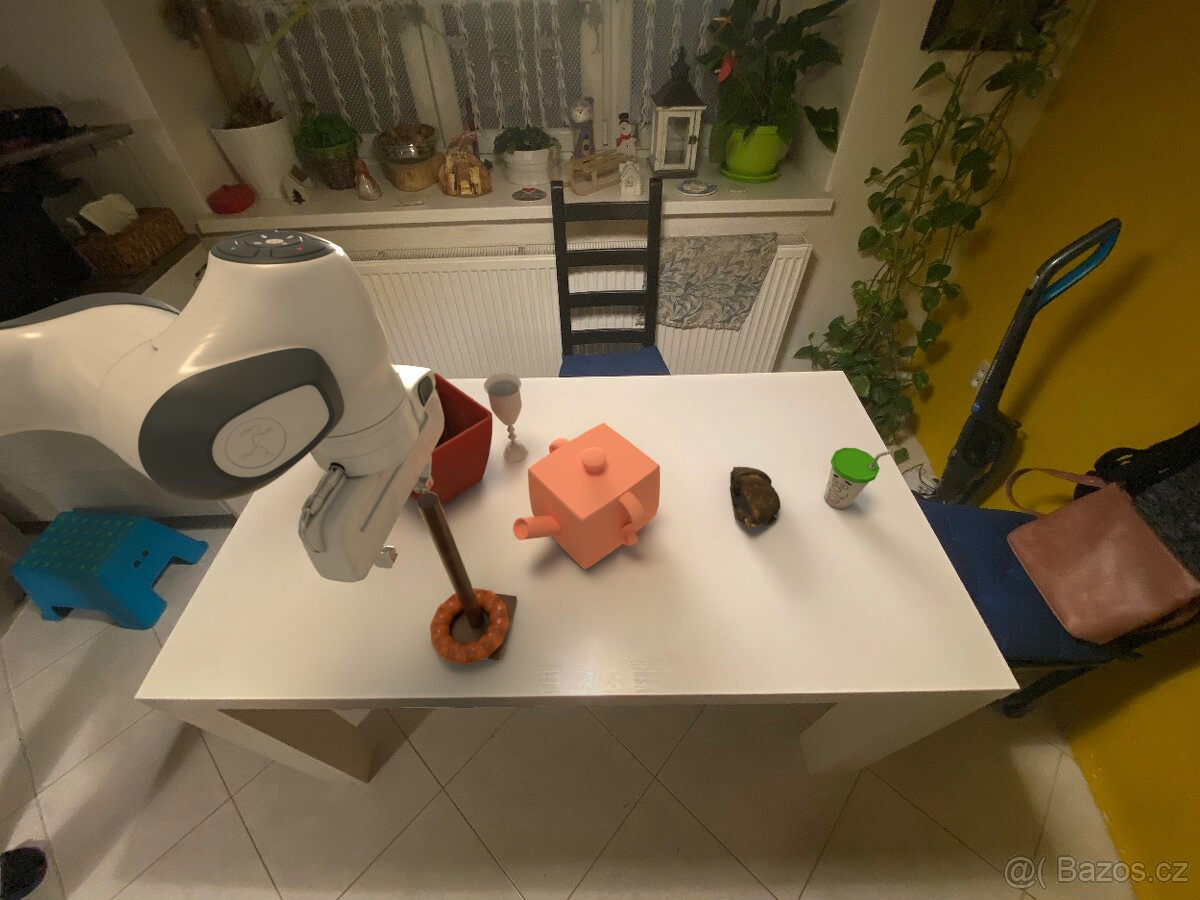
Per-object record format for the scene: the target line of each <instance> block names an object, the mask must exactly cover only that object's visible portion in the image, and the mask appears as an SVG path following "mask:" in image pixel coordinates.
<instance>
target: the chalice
mask: <svg viewBox="0 0 1200 900" xmlns="http://www.w3.org/2000/svg"><path fill="white" fill-rule="evenodd" d="M521 387H522V381H521V379H520V378H519V377H518V376H517V375H516V374H513V373H508V372H500V373H496V374H493V375H491V376H489V377H488V378H487V379H486V380H485V382H484V383H483V390H484V392H485V393H486V394H487V396H488V401H489V405H490V409H491V411H492V412H493V414H494V415H495V417H497V419H498V420H499V421H500V422H501V423H502V424H503V425H505V426H507V428H506V431H507V432H508V435H507V438H508V440H510V441H508V443H506V445H505V448H504V450H503V454H502V455H503V458H504V459H505V460H506V461H508V462H511V463H517V462H520V461H522V460H524V459H525V458H526V457H527V456H528V449H527V447H526V446H525V445H524V444H523V442H521V441H519V440H516V438H517V434H516V433H515V431H516V428H515V427H514V426H513V425H515V424H516V422H517V420H518V418H519V416H520V414H521V410H522V407H523V406H522V404H523V403H522V396H521V390H520V389H521Z"/></svg>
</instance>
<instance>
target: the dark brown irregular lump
mask: <svg viewBox="0 0 1200 900" xmlns="http://www.w3.org/2000/svg"><path fill="white" fill-rule="evenodd" d="M729 482H730V486H729V490H730V498H731V503H732V508H733V514H734V518H735V520H736V521H737V522H738V523H740V524H741V525H742V526H743V527H744V526H745V527H748V529H751V528H754V529H757V528H760V527H763V526H769V525H772V524H777V519H778V518H777V515H778V514H779V512H780V509H781V500H780V497H779V494H778V492H777V491H776V489H775V487H774V486H773V485H772V479H771V477H770V476H769V475H768V474H767V473H766V472H764V471H762V470H760V468H759V469H758V468H754V467H749V466H733V468H732V470H731V471H730V481H729Z"/></svg>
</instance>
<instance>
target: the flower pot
mask: <svg viewBox="0 0 1200 900" xmlns="http://www.w3.org/2000/svg"><path fill="white" fill-rule="evenodd" d="M433 373H434V376H435V381H436V385H435V389H436V391H437V393H438V396H439V399H440V403H441V406H442V410H443V414H444V429H443V433H442V435H441V437H440V438H439V440H438V442H437V444H436V446H435V448H434V450H433V452H432V454H431V456H432V462H431V477H432V479H433V482H434V483H433V485H432V487H431V489H430V491H429V492H433V493H435V494H436V495H437V496H438V498H439V501H440V504H441V506H442V507H444V506H445V505H446V504H448V503H449V502H451V501H452V500H454V499H456V498H457V497H458V496H460V495H461V494H463V493H464V492H466V491H467V490H469V489H470V488H472V487H473V486H475V485H477V484H478V483H480V482H481V481H482V480H483V478H484V475H485V473H486V469H487V466H488V462H489V458H490V453H491V446H492V439H493V413H492V412H491V411H490V409H488V408H487V407H485V406H484V405H482V404H481V403H479V402H478V401H476V400H475V399H474V398H472V397H471V396H469V395H467V394H466V393H465V392H464V391H463V390H462V389H460V388H458V387H457V386H455V385H454V384H453V383H451V382H450V381H448V380H447V379H445V378H444V377H443V376H442V375H440V374H439V373H438V372H433ZM422 494H424V493H416V492H415V491H413V490H412V492H411V493H410V495H409V497H411V498H412V499H413V500H414V501H415V502H417V499H418V497H419V496H420V495H422Z"/></svg>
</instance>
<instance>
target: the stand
mask: <svg viewBox="0 0 1200 900" xmlns="http://www.w3.org/2000/svg"><path fill="white" fill-rule="evenodd" d="M415 502H416V501H415ZM416 506H417V509H418V511H419V513H420V515H421V517H422V520H423V523H424V524H425V526H426V529H427V531H428V534H429V536H430V538H431V540H432V543H433V545H434V547H435V550H436V552H437V554H438V557H439V559H440V561H441V563H442V566H443V568H444V571H445V572H446V575H447V576H448V579H449V582H450V584H451V586H452V588H453V591H454V593H456V595H457V598H458V600H459V602H460V604H461V607H462V609H463V610H461V611H460V612H459V613H458V614H457V615H456V616H455V617H454V618H453V620H452V622H451V625H450V627H449V628H450V635H451V637H452V638H453V639H454V640H455V641H456V642H460V643H465V644H468V643H471V642H474V641H477V640H479V639H480V638H481V637H482V636H483V635H484V634H485V633H486V632H487V630H488V627H489V624H490V619H489V614H488V613H487V612H486V611H485V610H484V609H483V608H480V605H479V603H478V600H477V598H476V595H475V592H474V590H473V588H474V587H473V584H472V582H471V579H470V577H469V574H468V572H467V569H466V567H465V564H464V561H463V559H462V556H461V553H460V551H459V549H458V546H457V543H456V540H455V538H454V535H453V532H452V530H451V527H450V525H449V523H448V519H447V517H446V514H445V512H444V509H443V506H441V504H440V501H439V498H438V496H437V495H436V494H435V493H433V492H429V493H428V494H422V495H420V496H419V497H418V499H417V502H416ZM493 593H494V594H496V595H497V596H498V597H499V598H500V599H501V600H502V601H503V602H504V603H505V605H506V609H507V613H508V617H509V626H508V629H507V632H506V635H505V638H504V641H503V643H502V644H501V645H500V646H499V647H498V648H497V649H496V650H495V651H494V652H493V653H492V654H491V655H490V656H489V657H487V658H486V659H485V660H489V661H495V662H501V660H502V657H503V654H504V649H505V646H506V642H507V639H508V636H509V631H510V628H511V625H512V621H513V617H514V614H515V611H516V607H517V603H518V598H517V595H511V594H505V593H504V594H503V593H497V592H493ZM435 651H436V650H435ZM436 653H437V651H436Z"/></svg>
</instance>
